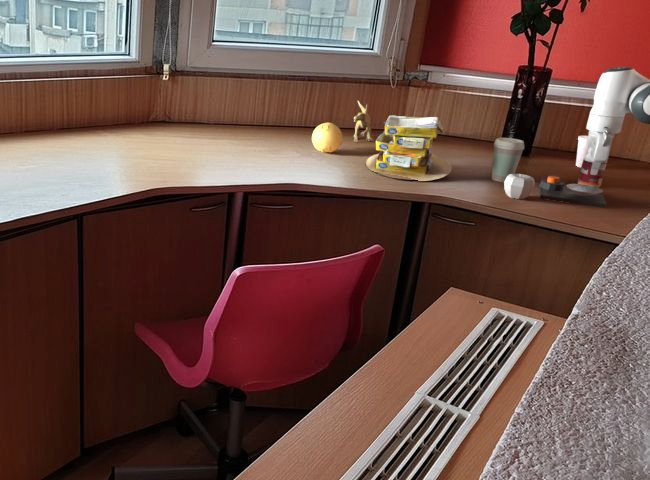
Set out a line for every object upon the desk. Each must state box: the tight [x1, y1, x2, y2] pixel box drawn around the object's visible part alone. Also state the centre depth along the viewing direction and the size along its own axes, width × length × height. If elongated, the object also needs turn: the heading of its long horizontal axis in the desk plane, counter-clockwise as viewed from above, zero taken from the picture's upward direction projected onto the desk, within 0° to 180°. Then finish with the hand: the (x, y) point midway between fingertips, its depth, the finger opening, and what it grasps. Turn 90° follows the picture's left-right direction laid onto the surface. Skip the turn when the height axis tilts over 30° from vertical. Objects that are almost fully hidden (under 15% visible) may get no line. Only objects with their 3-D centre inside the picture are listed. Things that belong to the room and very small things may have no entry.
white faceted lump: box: [503, 173, 536, 200], centre depth 196 cm, size 8×8×7 cm
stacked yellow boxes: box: [365, 114, 452, 182], centre depth 217 cm, size 25×25×17 cm
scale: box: [538, 178, 607, 209], centre depth 200 cm, size 16×14×3 cm
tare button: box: [546, 175, 560, 184], centre depth 203 cm, size 3×3×2 cm
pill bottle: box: [577, 147, 608, 188], centre depth 211 cm, size 6×6×11 cm
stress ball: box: [311, 122, 343, 153], centre depth 238 cm, size 10×10×10 cm
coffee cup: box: [491, 137, 525, 183], centre depth 213 cm, size 8×8×12 cm
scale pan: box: [565, 183, 604, 195], centre depth 196 cm, size 9×9×1 cm
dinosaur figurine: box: [350, 100, 374, 143], centre depth 259 cm, size 8×26×13 cm, turn 165°
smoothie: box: [575, 135, 589, 169], centre depth 233 cm, size 6×6×14 cm
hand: (592, 171), depth 212 cm, fingers closed on pill bottle, 6 cm apart
